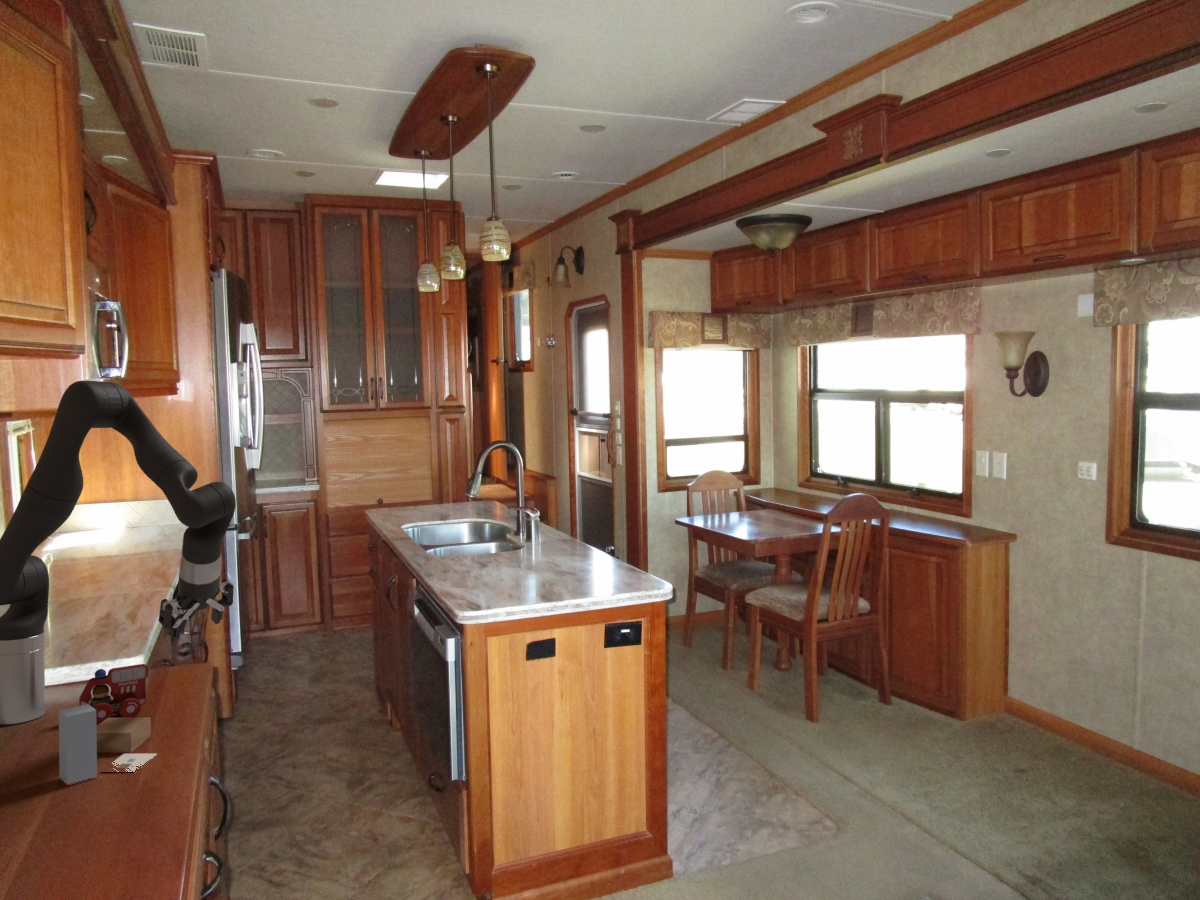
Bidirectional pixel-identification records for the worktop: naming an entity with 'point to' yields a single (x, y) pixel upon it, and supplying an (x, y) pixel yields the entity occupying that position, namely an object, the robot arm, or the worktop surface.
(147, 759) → the page
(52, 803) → the worktop surface
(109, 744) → the base block
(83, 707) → the pillar
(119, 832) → the worktop surface
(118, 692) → the toy fire truck
